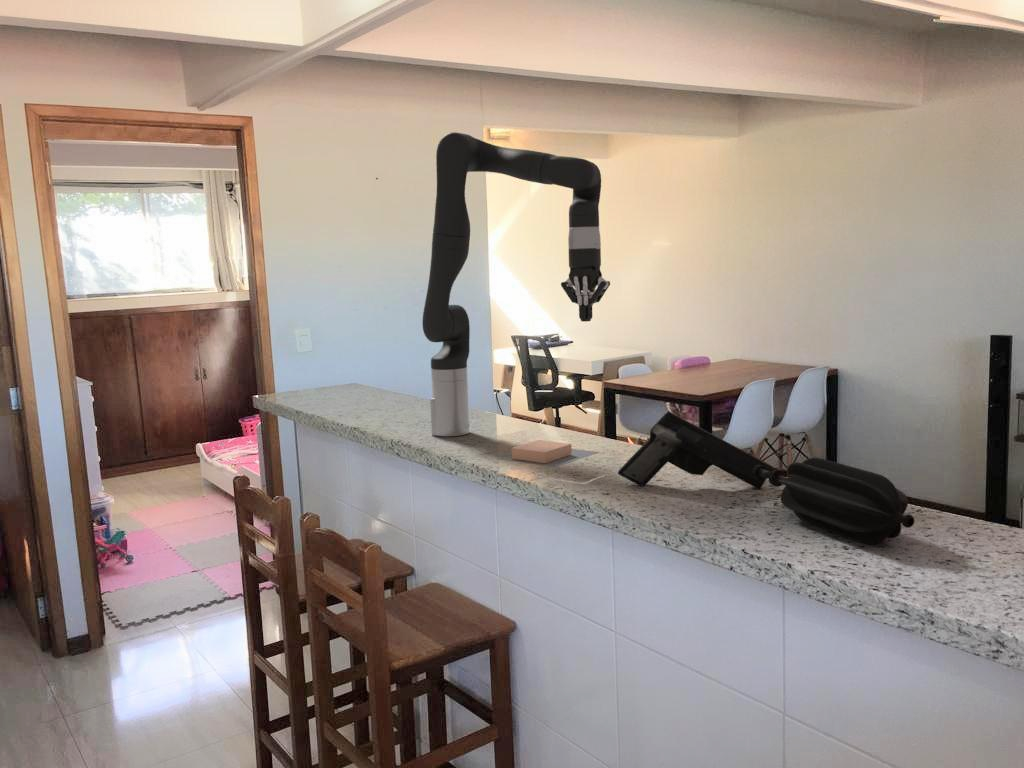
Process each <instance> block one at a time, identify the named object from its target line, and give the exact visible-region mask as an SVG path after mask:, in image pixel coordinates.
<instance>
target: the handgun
mask: <svg viewBox="0 0 1024 768" xmlns="http://www.w3.org/2000/svg"><path fill="white" fill-rule="evenodd" d="M668 463H669V464H671V465H673V466H675V467H677V468H679V469H681V470H682V471H684V472H686V473H688V474H690V475H697V476H703V475H704V474H705V473H706V471H708V469H709V468H710V467H711V466H715V467H717V468H718V469H720V470H722V471H723V472H726V473H728V474H729V475H731V476H733V477H735V478H737V479H739V480H741V481H742V482H745V483H746V484H748V485H750V486H752V487H754V489H755V488H756V489H758V490H761V489H762V487H763V486H764V483H765V482H766V480H768V479H767V478H763V479H757V478H754V477H753V476H752V469H753V467H754V466H755V465H761V466H764V467H765V468H766V470H767V471H769V472H771V471H773V465H771V464H769V463H767V462H765V461H763V460H761V459H760V458H757V457H756V456H754V455H752V454H750V453H749V452H747V451H745V450H744V449H741V448H739V447H738V446H736V445H733V444H731V443H730V442H728V441H726V440H724V439H722V438H720V437H718V436H716V435H715V434H713V433H711V432H709V431H707V430H705V429H704V428H701V427H699V426H698V425H696V424H694V423H692V422H690V421H688V420H686V419H685V418H683V417H681V416H678V415H677V414H675V413H673V412H671V411H666V413H664V414H663V415H662V417H660V419H659V420H658V421H657V422H656V423H654V425H653V426H652V427H651V428H650V432H649V438H648V439H647V441H646V442H645V443H643V445H642V446H640V448H638V449H637V451H635V453H634V454H633V455H632V456H631V457H630V458H629V459H628V460H627V461H626V462H625V463H624V465H622V467H621V468H619V470H618V472H617V475H619V476H621V477H623V478H624V479H626V480H629V481H630V482H632V483H634V484H636V485H637V486H639V487H641V486H643V487H642V488H644V487H645V486H646V485H647V484H648V483H649V482H650V481H651V479H653V478H654V476H656V475H657V473H659V472H660V470H662V469H663V467H664V466H665V465H666V464H668Z"/></svg>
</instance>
